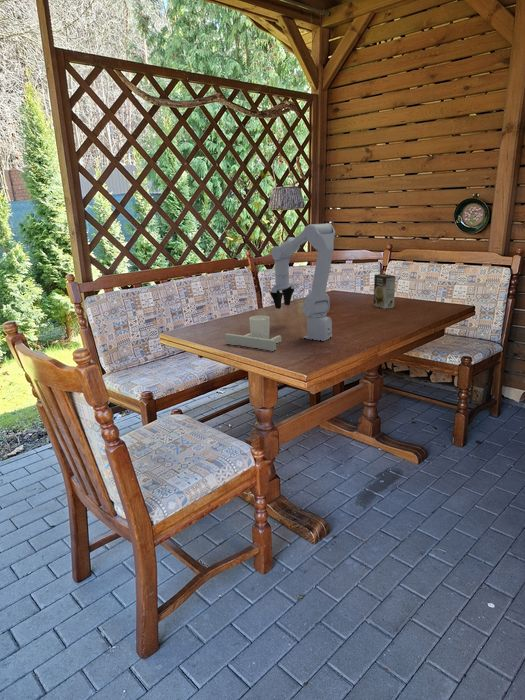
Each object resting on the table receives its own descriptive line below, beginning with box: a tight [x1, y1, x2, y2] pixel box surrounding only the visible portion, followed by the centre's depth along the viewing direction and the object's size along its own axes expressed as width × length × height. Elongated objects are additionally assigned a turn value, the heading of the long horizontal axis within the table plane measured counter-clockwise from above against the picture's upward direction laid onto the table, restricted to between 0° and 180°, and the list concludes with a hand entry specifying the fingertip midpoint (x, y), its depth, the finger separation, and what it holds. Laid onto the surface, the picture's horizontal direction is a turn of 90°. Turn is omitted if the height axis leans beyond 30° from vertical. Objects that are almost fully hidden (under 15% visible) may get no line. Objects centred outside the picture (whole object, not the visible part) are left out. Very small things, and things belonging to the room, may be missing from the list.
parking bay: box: [224, 332, 282, 352], centre depth 182 cm, size 22×13×4 cm, turn 57°
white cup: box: [248, 315, 271, 339], centre depth 183 cm, size 8×8×10 cm
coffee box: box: [373, 273, 396, 310], centre depth 238 cm, size 9×6×16 cm
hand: (282, 306), depth 203 cm, fingers open, 7 cm apart
